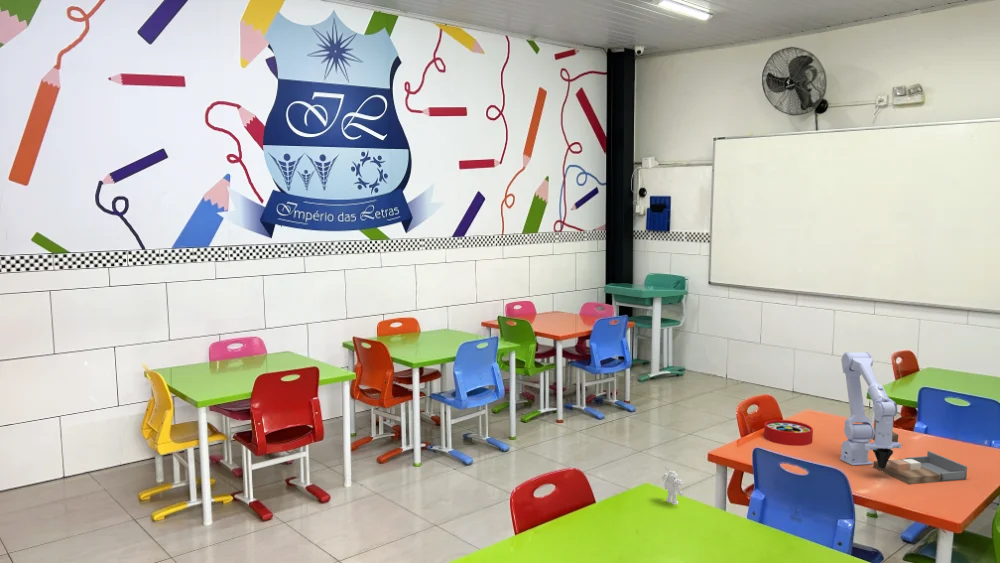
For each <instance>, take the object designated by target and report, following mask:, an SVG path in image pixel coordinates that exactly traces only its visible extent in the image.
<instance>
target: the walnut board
mask: <svg viewBox="0 0 1000 563" xmlns="http://www.w3.org/2000/svg"><path fill="white" fill-rule="evenodd" d="M904 459H905V458H901V459H899V458H898V459H896V460H904ZM890 460H891V459H888V462H887V464H886V467H885V468H880V467H878V462H877V460H873V464H872V465H873V467H872V468H874V469H876V470H878V469H879V470H878V471H880V470H881V471H880V472H882V471H883V472H882V473H884V472H885V473H884V474H886V473H887V474H886V475H888V474H889V475H888V476H890V475H891V477H892V476H893V477H892V478H894V477H895V479H896V480H898V481H900V482H903V483H906V484H907V483H908V484H907V485H913V484H914V485H915V483H916V484H925V483H926V484H927V483H938V482H942V481H941V475H940V474H937V473H935V472H933V471H931V470H928V469H926V468H924V467H921V468H920V469H917V470H904V471H897V470H895V469H893V468H891V467H890Z"/></svg>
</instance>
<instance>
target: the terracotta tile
mask: <svg viewBox="0 0 1000 563" xmlns="http://www.w3.org/2000/svg"><path fill="white" fill-rule="evenodd" d="M889 460H890V467H891V468H893V469H895V470H897V471H904V470H909V464H908V463H906V462H904V461H902V460H897V459H889Z"/></svg>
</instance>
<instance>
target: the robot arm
mask: <svg viewBox="0 0 1000 563" xmlns="http://www.w3.org/2000/svg"><path fill="white" fill-rule="evenodd" d="M840 360H841V366H842V373H843V374H845V382H846V389H847V397H848V398H847V399H848V404H849V405H848V406H849V412H850V416H849V417H847V418H846V419H845V420H844V428H843V432H844V436H845V437H846V439H847V440H844V441H843V442H842V443H841V450H840V451H841V452H840V457H839V459H840V460H841V461H843V462H845V463H847V464H849V465H851V466H861V465H863V466H864V465H873V464H874V462H872V461H871V460H869V452H870V451H873V453H874V456H875V458H876V461H877V462H878V467H880V468H885V467H886V464H887V462H888V460H890V458H891V457H892V455H893V454H894V450H893V449H902V443H901V442H899V441H898V442H892V432H894V430H893V429H894V417H896V416H897V414H898V405H897V403H896V401H894V400H893V399H891V398H890V397H889V395H888V394H887V392H886V390H885V388H884V385H882V384H880V383H879V382H878V380H877V377H876V374H875V372H874V369H873V364H874V360H873V357H872V355H871V353H870V352H868V351H864V352H862V351H861V352H859V351H858V352H856V351H855V352H849V351H845V352H844V353H843V355H842V357H841V359H840ZM861 376H862V378H863V380H864V382H865V383H866V385H867V386H868V388H867V393H868V395H869V398H870V400H871V401H872V403H873V407H872V409H873V415H874V420H876V428H875V431H874V424H873V421H872V419H871V418H870V417H868V416H867V415H865V414H866V413H865V407H864V399H863V390H862V384H861ZM874 434H875V440H874V442H871V440H873V437H874Z"/></svg>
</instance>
